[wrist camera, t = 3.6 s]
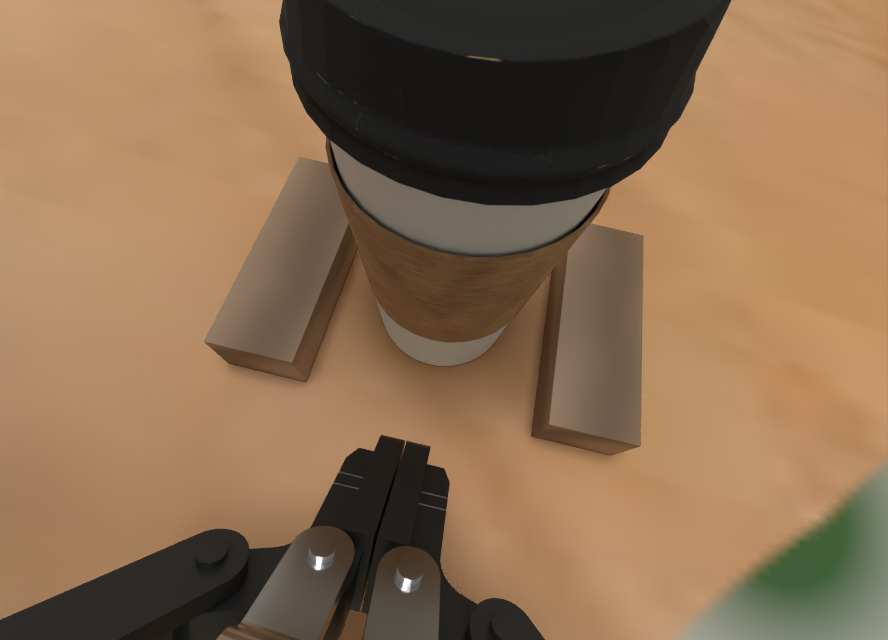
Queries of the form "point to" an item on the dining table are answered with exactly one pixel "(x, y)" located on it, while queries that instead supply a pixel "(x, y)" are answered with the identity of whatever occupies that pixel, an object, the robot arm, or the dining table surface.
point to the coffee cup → (484, 139)
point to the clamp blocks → (566, 330)
